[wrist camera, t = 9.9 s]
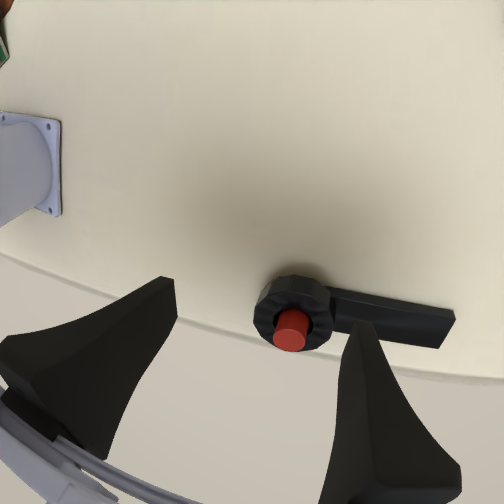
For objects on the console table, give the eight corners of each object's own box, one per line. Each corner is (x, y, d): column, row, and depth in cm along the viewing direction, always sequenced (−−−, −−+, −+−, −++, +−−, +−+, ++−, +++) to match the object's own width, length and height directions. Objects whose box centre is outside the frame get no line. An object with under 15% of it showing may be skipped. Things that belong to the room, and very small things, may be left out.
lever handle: (260, 317, 22) (250, 342, 19) (267, 260, 19) (257, 283, 17) (431, 349, 19) (435, 375, 17) (459, 299, 17) (469, 325, 15)
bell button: (277, 327, 19) (270, 348, 17) (280, 305, 18) (274, 325, 16) (305, 334, 18) (301, 355, 17) (311, 312, 18) (308, 333, 16)
